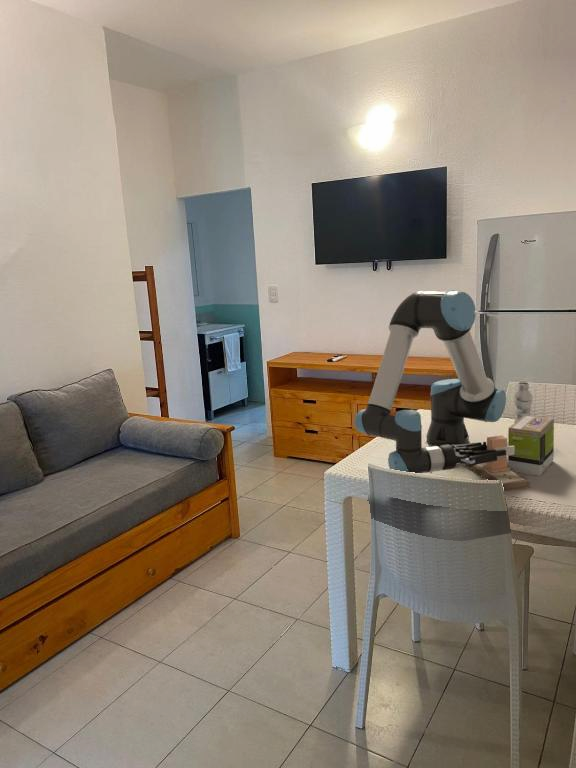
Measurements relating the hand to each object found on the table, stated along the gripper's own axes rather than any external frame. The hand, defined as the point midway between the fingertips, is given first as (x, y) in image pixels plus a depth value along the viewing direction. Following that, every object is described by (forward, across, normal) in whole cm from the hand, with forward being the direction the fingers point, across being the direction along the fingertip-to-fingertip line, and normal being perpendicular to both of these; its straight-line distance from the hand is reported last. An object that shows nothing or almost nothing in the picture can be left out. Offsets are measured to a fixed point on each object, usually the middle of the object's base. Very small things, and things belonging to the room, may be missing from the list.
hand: (510, 448), depth 178 cm
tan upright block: (-5, 0, -6) cm, 8 cm away
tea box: (+10, -4, -9) cm, 14 cm away
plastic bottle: (+24, -32, -9) cm, 41 cm away
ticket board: (-5, -2, -9) cm, 10 cm away
